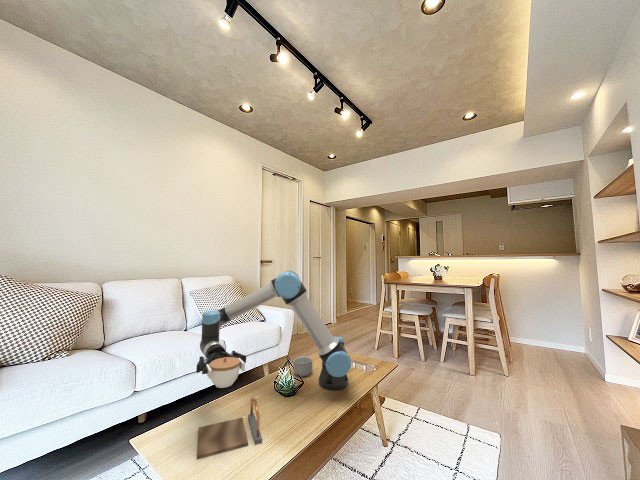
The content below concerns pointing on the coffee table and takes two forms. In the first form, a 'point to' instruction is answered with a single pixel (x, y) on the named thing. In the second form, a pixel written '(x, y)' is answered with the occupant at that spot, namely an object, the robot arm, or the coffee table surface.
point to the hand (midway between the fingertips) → (227, 370)
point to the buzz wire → (256, 413)
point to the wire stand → (254, 428)
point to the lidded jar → (224, 371)
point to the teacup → (302, 366)
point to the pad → (221, 437)
